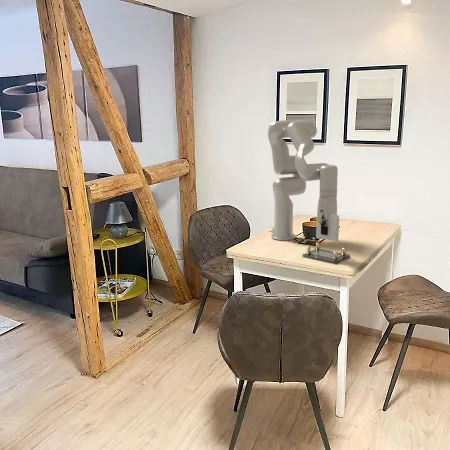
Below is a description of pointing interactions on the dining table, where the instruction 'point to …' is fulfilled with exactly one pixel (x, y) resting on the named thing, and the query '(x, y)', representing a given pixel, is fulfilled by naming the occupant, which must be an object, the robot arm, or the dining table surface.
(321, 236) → the photo printer
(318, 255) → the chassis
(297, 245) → the dining table surface
